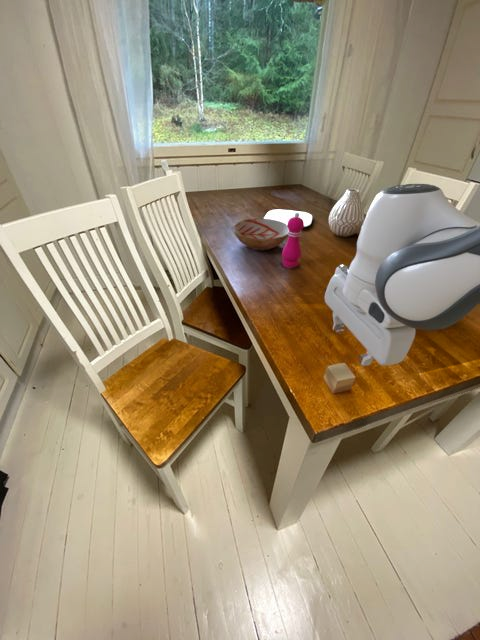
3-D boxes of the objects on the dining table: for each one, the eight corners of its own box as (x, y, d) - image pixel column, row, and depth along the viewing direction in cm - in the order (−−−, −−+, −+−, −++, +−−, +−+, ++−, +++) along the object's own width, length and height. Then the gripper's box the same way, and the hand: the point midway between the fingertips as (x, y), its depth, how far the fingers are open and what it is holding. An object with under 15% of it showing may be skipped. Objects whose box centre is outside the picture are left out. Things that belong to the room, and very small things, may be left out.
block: (350, 389, 61) (355, 377, 59) (332, 393, 61) (337, 381, 58) (340, 375, 65) (344, 362, 62) (323, 378, 64) (327, 366, 61)
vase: (323, 227, 141) (331, 185, 129) (353, 228, 141) (365, 186, 128) (329, 239, 129) (339, 194, 116) (363, 240, 128) (377, 195, 116)
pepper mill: (277, 263, 109) (282, 212, 97) (289, 258, 113) (295, 208, 100) (291, 270, 105) (298, 217, 92) (302, 264, 109) (311, 213, 96)
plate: (313, 215, 156) (313, 212, 155) (309, 231, 137) (310, 227, 136) (269, 211, 161) (269, 208, 160) (260, 225, 142) (260, 222, 141)
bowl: (243, 231, 135) (243, 215, 130) (293, 239, 129) (295, 222, 124) (224, 252, 117) (223, 234, 112) (281, 261, 110) (283, 243, 105)
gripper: (325, 262, 53) (312, 317, 62) (397, 327, 38) (366, 389, 47) (353, 258, 55) (336, 313, 63) (433, 321, 39) (397, 381, 48)
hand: (349, 346), depth 55 cm, fingers open, 8 cm apart
